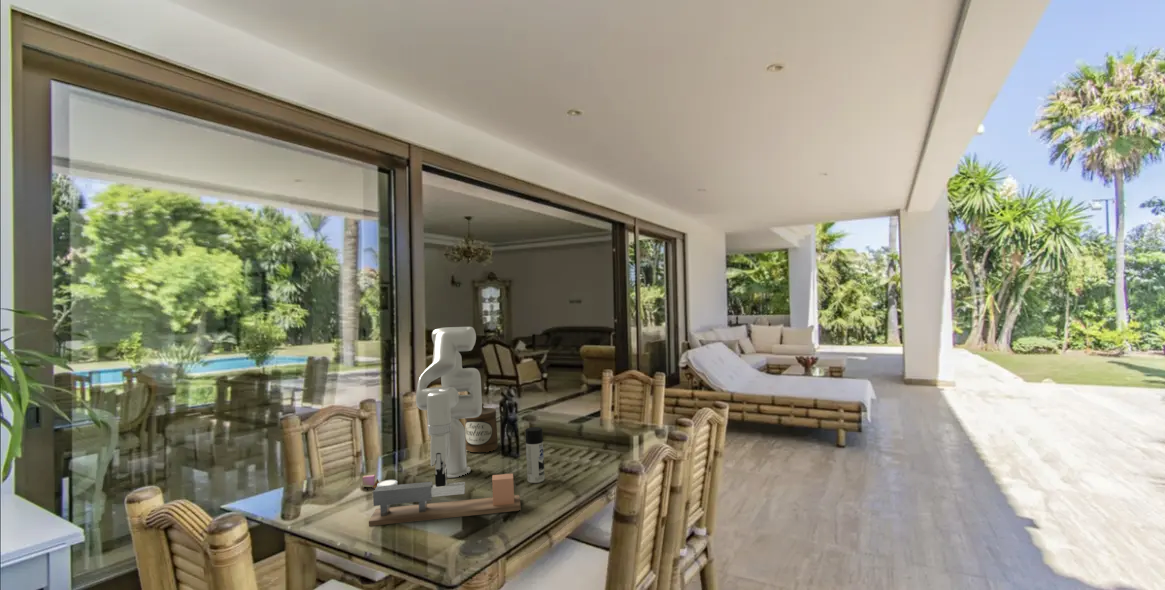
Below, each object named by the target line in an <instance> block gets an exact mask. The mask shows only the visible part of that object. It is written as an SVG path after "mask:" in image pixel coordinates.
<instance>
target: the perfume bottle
mask: <svg viewBox="0 0 1165 590" xmlns="http://www.w3.org/2000/svg"><path fill="white" fill-rule="evenodd" d="M361 481H362V486H363V485H373V487H372V489H373V490H374V489H375V488H376V487H377V484H378V483H379V482H380V481H379V479H376V474H365V475H364V474H363V475H362V479H361Z"/></svg>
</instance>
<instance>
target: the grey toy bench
mask: <svg viewBox="0 0 1165 590" xmlns="http://www.w3.org/2000/svg"><path fill="white" fill-rule="evenodd" d="M432 485H433V481H424V482H413V483H412V482H411V483H401V484H397V485H390V486H379V487H376V488H375V490H374V489H373V491H372V500H373V501H372V502H373V503H372V505H373V507H376V506H377V507H378V506H379V507H380V511H381V516H387V515H388V513H389V511H390V507H391V505H389V504H392V505H398V504H399V505H400V504H408V503H409V504H411V503H418V505H419V513H420V512H426V509H427V504H428V502H429V501H432V498H433V497H431V486H432Z"/></svg>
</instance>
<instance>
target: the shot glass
mask: <svg viewBox="0 0 1165 590" xmlns="http://www.w3.org/2000/svg"><path fill="white" fill-rule="evenodd" d="M390 485H398V480H396V479H386V480H381V481H379V483H378V484H377V487H379V486H390ZM389 505H390V506H392V505H393V504H389Z"/></svg>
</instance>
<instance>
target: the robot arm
mask: <svg viewBox="0 0 1165 590" xmlns="http://www.w3.org/2000/svg"><path fill="white" fill-rule="evenodd" d="M431 340H432V343H433V350H432V351H433V355H432V363H431V364H429V366H428V367H426V368H425V369H424V371H423V372H422V373H421V374H420V376H419V378H418V381H417V384H416V393H415V405H416V407H417V408H418V409H419V410H421V411H426V412H427V413H426V418H427V435H428V436H430V466H431V467H433V466H435V467H434V468H435V469H434V470H435V473H434V477H435V478H434V479H435V483H434V485H435V484H436V487H440V486H445V485H446V478H445V473H444V465H446V475H447V479H450V478H451V479H452V478H459V476H460V477H463V476H462V475H464V476H466V475H468V474H469V473H471V467H470V466H468V465H467V451H466V436H465V426H464V425H463V423H462V422H461V421H460V420H462V419H463V420H464V419H465V418H476V417H479V416H480V415H481V412H482V403H483V400H482V399H483V398H482V396H483V395H482V378H481V373H480V371H479V370H478V368H475V367H466V368H465V367H464V368H463V363H462V362H463V361H462V355H461V353H460V352H469V351H470V352H471V351H472V350H473V349H474V346H475V345H476V340H477V335H476V330H475V328H474V327H472V326H452V327H448V326H447V327H440V328H436V329H434V330H432V332H431ZM439 378H440V380H441V387H428V386H429V385H430V384H431V382H434V381H435V380H437V379H439ZM462 392H465V393H466V392H468V393H469V394H459V393H462ZM441 467H442V468H441ZM467 473H468V474H467ZM465 474H466V475H465Z"/></svg>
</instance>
